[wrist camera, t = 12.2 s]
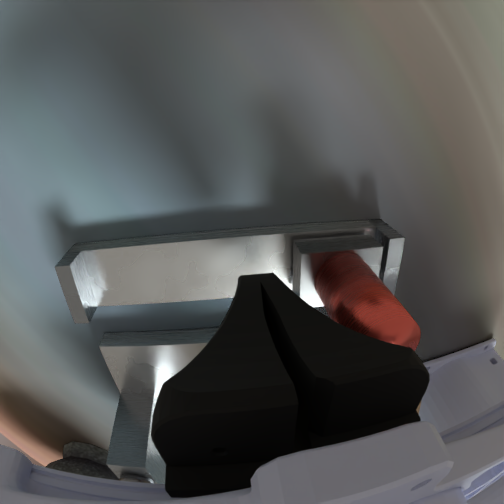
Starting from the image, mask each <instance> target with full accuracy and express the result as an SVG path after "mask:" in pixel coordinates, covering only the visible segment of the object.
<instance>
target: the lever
mask: <svg viewBox="0 0 504 504" xmlns="http://www.w3.org/2000/svg"><path fill="white" fill-rule="evenodd" d="M382 252H383V246H382V245H381V244H379V243H378V242H377V241H376V240H375V239H374V238H373V237H372V236H371V235H370V234H367V235H353V236H340V237H326V238H313V239H300V240H293V283H292V291H293V292H294V293H295V294H297V295H298V296H299V297H300V298H301V299H302V300H304V301H305V302H306V303H308V304H309V305H310V306H312V307H321V306H324V307H325V309H326V311H327V313H328V315H329V317H330V319H332V320H334V321H335V322H337V323H339V324H341V325H343V326H345V327H347V328H350V329H352V330H354V331H356V332H359V333H361V334H364V335H366V336H369V337H372V338H375V339H378V340H381V341H385V342H388V343H393V344H397V345H401V346H406V347H410V348H412V349H413V350H414V351H415V350H416V348H417V346H418V344H419V341H420V336H421V332H420V328H419V326H418V324H417V323H416V322H415V320H414V319H413V318H412V317H411V315H410V314H409V313H408V312H407V311H406V309H405V308H404V307H403V306H402V304H401V303H400V302H399V301H398V300H397V298H396V297H395V296H394V295H393V294H392V292H391V291H390V290H389V289H388V288H387V287H386V285H385V284H384V283H383V282H382V281H381V280H380V278H379V272H380V265H381V259H382Z"/></svg>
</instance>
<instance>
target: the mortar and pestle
mask: <svg viewBox="0 0 504 504" xmlns="http://www.w3.org/2000/svg"><path fill="white" fill-rule="evenodd" d="M107 457H108V451H106V450H104V449H101V448H99V447H96V446H94V445H91V444H86V443H79V442H70V443H68V444H66V445H64V449H63V459H60V460H57V461H54V462H51V463H50V464H48V465H47V466H46V468H50V469H54V470H59V471H63V472H68V473H73V474H79V475H84V476H90V477H96V478H103V479H111V480H119V481H120V479H119V478H118V477H117V476H116V475H115V474H114V473H113V471H112V470H111V469H110V468H109V467H108V466H107V465H106V462H107Z"/></svg>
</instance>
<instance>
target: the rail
mask: <svg viewBox="0 0 504 504" xmlns="http://www.w3.org/2000/svg"><path fill="white" fill-rule="evenodd" d="M367 234H370V235H371V236H372V237H373V238H374V239H375V240H376V241H377V242H378V243H379V244H381V245H382V246H383V252H382V259H381V265H380V272H379V278H380V280H381V281H382V282H383V283H384V284H385V285H386V287H387V288H388V289H389V290H390V291H391V292H392V294H393V295H394V294H395V289H396V284H397V280H398V274H399V269H400V264H401V258H402V253H403V247H404V240H405V237H403V236H402V235H401V234H399V233H398V232H397V231H396V230H394V229H393V228H392V227H390V226H389V225H388V224H387V223H385V222H384V221H383V220H381V219H375V220H357V221H340V222H324V223H308V224H293V225H279V226H265V227H252V228H239V229H227V230H215V231H203V232H191V233H180V234H169V235H158V236H148V237H137V238H127V239H117V240H108V241H98V242H89V243H80V244H74V245H73V246H72V248H71V249H70V250H69V251H68V252H67V253H66V254H65V256H64V257H63V258H62V259H61V260H60V261H59V262H58V264H57V265H56V266H55V269H56V272H57V275H58V278H59V281H60V284H61V287H62V290H63V293H64V296H65V299H66V301H67V304H68V307H69V309H70V312H71V315H72V317H73V320H74V322H75V323H90V321H91V319H92V316H93V314H94V312H95V310H96V308H97V306H114V305H134V304H151V303H167V302H182V301H196V300H209V299H221V298H233V297H234V295H235V292H236V289H237V284H238V278H239V277H240V275H251V274H263V273H274V274H275V275H276V276H277V277H279V278H280V279H281V280H282V281H283V282H284V283H285V284H286V285H287V286H288V287H289V288H290V289H291V290H292V283H293V240H300V239H313V238H326V237H340V236H353V235H367Z"/></svg>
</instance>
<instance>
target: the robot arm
mask: <svg viewBox="0 0 504 504" xmlns="http://www.w3.org/2000/svg"><path fill="white" fill-rule="evenodd" d="M495 344H496V340H495V339H494V338H493V339H490V340H488V341H485V342H482V343H480V344H477V345H475V346H472V347H469V348H466V349H464V350H461V351H458V352H455V353H452V354H449V355H446V356H443V357H440V358H437V359H434V360H430V361H427V362H424V363H423V362H422V361H421V359H420V358H419V357H418V355H417V354H416V353H415V351H414V350H413V349H412V348H410V347H406V346H401V345H397V344H393V343H388V342H385V341H381V340H378V339H375V338H372V337H369V336H366V335H364V334H361V333H359V332H356V331H354V330H352V329H350V328H347V327H345V326H343V325H341V324H339V323H337V322H335V321H334V320H332V319H330V318H329V317H327V316H325V315H323V314H322V313H320V312H319V311H317V310H316V309H314V308H313V307H312V306H310V305H309V304H308V303H306V302H305V301H304V300H302V299H301V298H300V297H299V296H298V295H297V294H295V293H294V292H293V291H292V290H291V289H290V288H289V287H288V286H287V285H286V284H285V283H284V282H283V281H282V280H281V279H280V278H279V277H277V276H276V275H275V274H274V273H263V274H251V275H240V277H239V278H238V284H237V289H236V292H235V295H234V298H233V301H232V303H231V306H230V308H229V310H228V312H227V314H226V316H225V318H224V320H223V322H222V323H221V325H220V327H219V328H218V330H217V331H216V333H215V334H214V336H213V337H212V338H211V339H210V341H209V342H208V343H207V345H206V346H205V347H204V348H203V349H202V351H201V352H200V353H199V354H198V355H197V356H196V357H195V358H194V359H193V360H192V361H191V362H190V363H189V364H188V365H187V366H185V367H184V368H183V369H182V370H181V371H179V372H178V373H176V374H175V375H174V376H172V377H171V378H170V379H168V380H167V381H165V382H164V383H163V385H162V387H161V390H160V393H159V395H158V398H157V401H156V405H155V408H154V412H153V418H152V427H151V438H152V441H153V443H154V445H155V447H156V449H157V450H158V452H159V454H160V456H161V457H162V459H163V461H164V462H165V464H166V473H165V484H156V483H140V482H129V481H119V480H111V479H103V478H96V477H90V476H84V475H79V474H73V473H68V472H63V471H59V470H54V469H50V468H46V467H42V466H38V465H34V464H32V463H31V461H30V460H29V459H28V458H27V457H26V456H25V455H24V454H23V453H21V452H19V451H18V450H16V449H13V448H10V447H7V446H4V445H0V504H504V360H503V359H502V358H501V357H500V356H499V355H498V353H497V352H496V351H495V350H494V349H493V348H494V346H495ZM420 402H421V405H420V410H419V414H418V413H417V411H416V409H417V407H418V405H419V404H420Z"/></svg>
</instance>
